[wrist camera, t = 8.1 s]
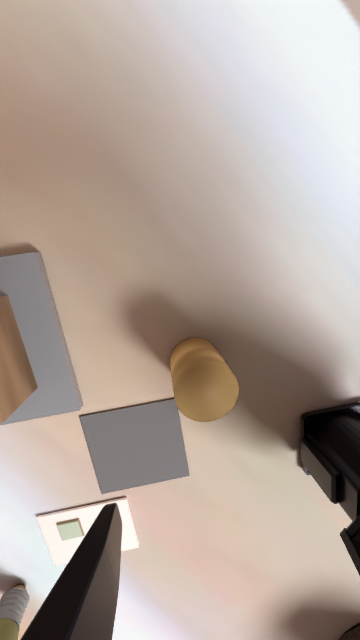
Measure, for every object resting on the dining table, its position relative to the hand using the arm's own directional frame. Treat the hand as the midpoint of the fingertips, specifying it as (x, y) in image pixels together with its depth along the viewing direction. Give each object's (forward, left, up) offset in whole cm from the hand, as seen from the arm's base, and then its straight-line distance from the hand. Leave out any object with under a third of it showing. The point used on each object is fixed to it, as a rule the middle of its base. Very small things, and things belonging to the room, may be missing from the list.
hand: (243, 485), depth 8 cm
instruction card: (+12, +15, -11) cm, 22 cm away
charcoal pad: (+6, +7, -11) cm, 14 cm away
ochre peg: (0, 0, -11) cm, 11 cm away
